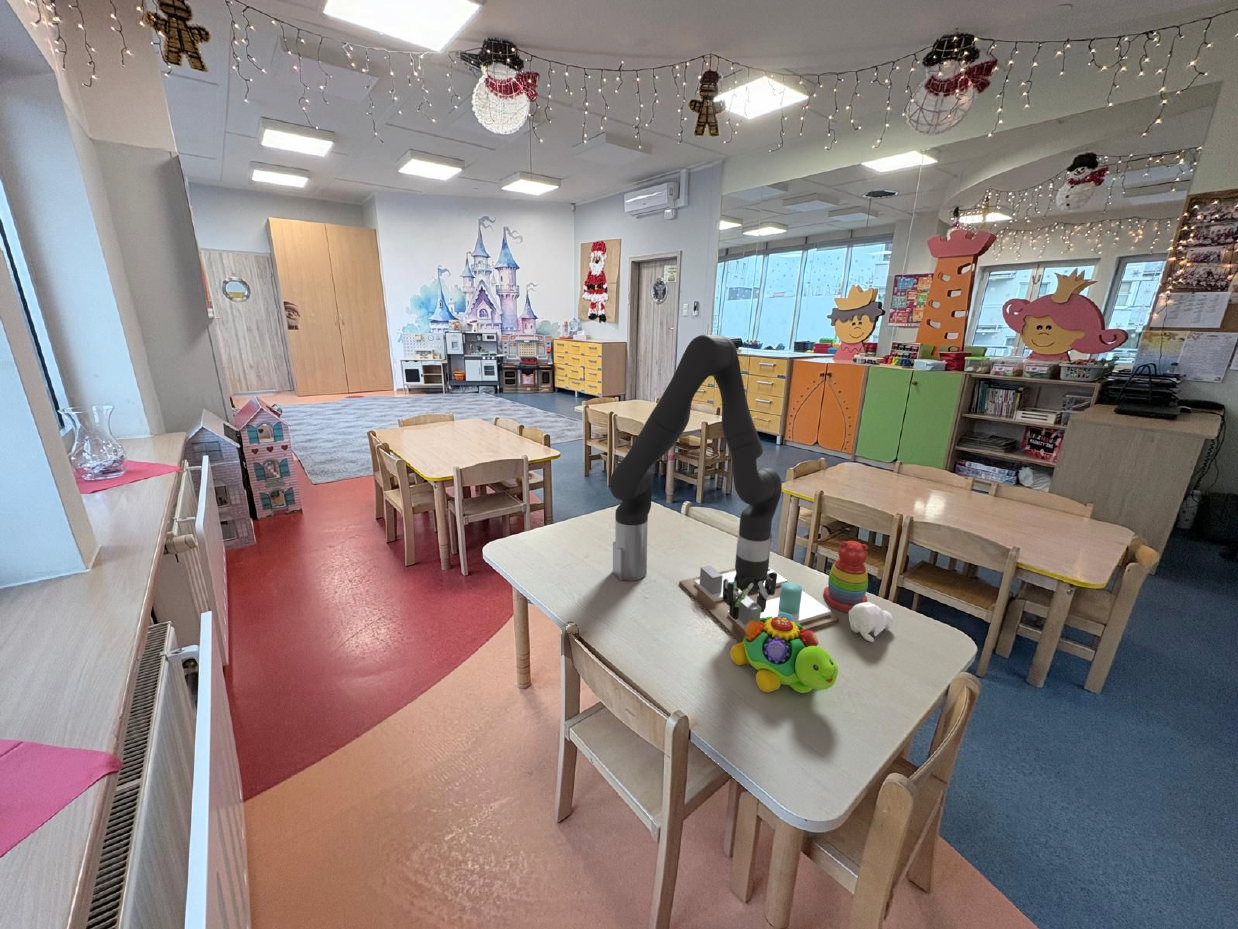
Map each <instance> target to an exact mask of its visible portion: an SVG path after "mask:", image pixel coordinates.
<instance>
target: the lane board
mask: <svg viewBox="0 0 1238 929" xmlns="http://www.w3.org/2000/svg"><path fill="white" fill-rule="evenodd" d="M733 571H736V569H735V568H732V569H727V570H723V571H719V573H720V574H724V573H728V572H733ZM698 579H700V576H695V577H691V578H688V579H682V580H680V581H678V582H679V584H678V585H679V586H680V587H681V588H682V589H683V590H684V591H685V592H686V593H687V594H688V595H689V596H691V597H692V599H693V600H695V602H697V603H698V605H700V606H701V608H702V609H704V610H705V611H706V612H707V613H708V614H709V615H710V616H711V617H712V618H713V619H714V620H715V621H716V622H717V623H718V625H720V626H721V627H722V628H723V629H724V630H725V631H726V633H728V634H729V635H730V636H731V637H732V638H733V639H735V641H736V642H737V644H739V643H740V642H743V639H744V638H745V636H746V632H745V630H744V629H742V628H741V627H740V626H739V625H738V624H737V623H736V622H735V621H734V620H733V619H732V618H731V617H730V616H728V615H727V614H728V611H729V609H730V606H728V605H727V604H726V603H725V602H724V601H723V600H721V601H717V602H713V601H712V600H711V599H710V598H709V597H708V596H707V595H706V594H705V593H704V592H703V591H702V590H701V589H699V588H698V587H697V586H696V585H695V584H694V580H698ZM780 591H781V585H779V586H776V587H775V594H774V595H769V597H768V599H767V601H768V600H771V599H775V598H779V597H780ZM758 595H759V594H758V592H752V593H750V594H747V596H748V597H749V598H750V599H752V600H753V601H754V602H755V603H757V596H758ZM840 620H841V618H840V617H838V616H837V615H835V614H834V613H832V612H831V615H827V616H824V617H821V618H817V619H814V620H810V621H807V622H804V623H800V625H801V626H802V627H803V629H805V631H812V632H813V631H814V630H819V629H821V628H824V627H828V626H830V625H834V624H837V623H840Z"/></svg>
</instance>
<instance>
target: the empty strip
mask: <svg viewBox="0 0 1238 929" xmlns="http://www.w3.org/2000/svg"><path fill="white" fill-rule="evenodd" d="M768 569H771V570H772V571H774V572H775V573H777V580H776V586H779V585H782V584H783V583H785V582H788V579H786V578H785V577H783V576H782V575H781V574H779V573H778V572H776V571H775V570H774V569H773V568H771V567H768ZM719 572H720V571H719ZM719 572H718V570H716V569H715V568H714V567H713V566H712V565H711V564H709V565H705V566H700V573H699V577H700V579H698V580H694V584H695V585H696V586H697V587H698V588H699V589H701V590H702V591H703V592H704V593H705V594H706V595H707V596H708V597H709V598H710V599H711V600H712V601H713V602H717V601H721V600H723V581H724V580H725V579H727V580H733V579H734V578H735V576H736V571H733V572H728V573H724V574H720V573H719ZM763 585H764V587H765V581H764V583H763ZM739 593H742V591H741V590H740V589H739Z"/></svg>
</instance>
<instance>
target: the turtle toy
mask: <svg viewBox="0 0 1238 929" xmlns="http://www.w3.org/2000/svg"><path fill="white" fill-rule="evenodd" d="M744 630H745V632H746V636H745V638H744V639H743V642H740V643H737V644H734V645H733V646H732V647H731V648H730V655H731V656H730V657H731V659H732V661H733V662H734V663H735V664H736V665H738V666H741V665H742V666H743V665H747V664H750V665H751V667H753V668H754V669H755V670H757V671H758V672H756V674H755V681H756V684H757V687H758V688H759V689H760V690H761V691H762V692H763V693H771V692H774V691H776V690H779V689H780V687H781V685H785V686H789V687H791V689H793V690H794V691H795V692H797V693H801V694H805V693H809V692H811V691H812V689H813V690H818V691H824V690H825V691H826V690H829V689H830V688H832V687H833V686H834V685H835V683H836V681H837V677H838V673H839V672H838V671H839V669H838V665H837V663H836V662H835V660H834V659H833V658H832V657H831V655H830V654H829V653H828V652H827V650H826V649H824V648H822V647H820V646H819V639H818V637H817V635H816V633H815V632H814V631H813V630H812V631H805V629H803V627H802V626H801V625H800V624H797V623H794V622H793V617H792V615H790V614H788V613H785V612H781V613H779V614H778V616H777V617H774V618H773V616H769V617H765V618H764V617H762V618H760V620H758V621H754V620H751V621H750V622H748V623H747V625H746V626H745V628H744Z"/></svg>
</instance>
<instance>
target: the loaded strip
mask: <svg viewBox="0 0 1238 929" xmlns="http://www.w3.org/2000/svg"><path fill="white" fill-rule="evenodd" d="M736 599H737V597H736V598H735V600H736ZM779 600H780V597H779V598H775V599H771V600H768V601H766V608H765V610H764V612H762V613H761V607H760V606H759V605H758V604H757V603H755V602H754V601H753V600H752V599H750V598H749V597H748V596H747V595H746V597H745V599H743V600H742V601H741V602H740V604H739V616H738V619H737V620H734V619H733V618H732V617H731V616H730V614H729V611H728V614H727V615H728V616H730V617H731V618H732V619H733V620H734V621H735V622H736V623H737V624H738V625H739V626H740V627H741V628H742V629H744V628H745V626H746V625H747V623H748V622H750V621H751V620H754V621H758V620H760V618H762V617H764V618H765V617H769V616H773V618H774V617H777V616H778V614H779V613H781V612H782V611H781V610H780V609H779ZM831 613H832V610H831V609H830V608H828V607H827V606H825V605H823V604H822V603H820V602H819V601H818V600H816V599H815V598H813V596H811V595H809V594H808V593H806V592H805V591H803V590H802V595H801V603H800V611H799V612H798V613H797V614H790V615H792V617H793V622H794V623H797V624H800V623H804V622H807V621H810V620H814V619H817V618H821V617H824V616H827V615H831Z"/></svg>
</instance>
